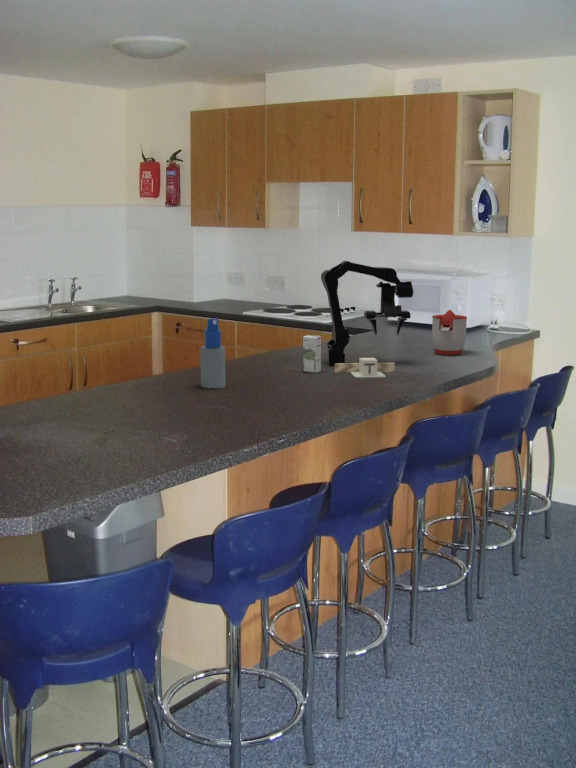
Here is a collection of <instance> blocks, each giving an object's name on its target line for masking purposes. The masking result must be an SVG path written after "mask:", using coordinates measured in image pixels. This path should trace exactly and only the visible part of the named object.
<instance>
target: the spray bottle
mask: <svg viewBox="0 0 576 768" xmlns="http://www.w3.org/2000/svg"><path fill="white" fill-rule="evenodd" d="M200 387H201V388H203V387H204V389H210V388H215V389H223V388H225V387H226V348H225V346H223V345H222V330H221V329H220V327H219V320H218V317H212V318H207V324H206V329H205V330H204V345H203V346H201V348H200Z"/></svg>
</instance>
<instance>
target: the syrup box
mask: <svg viewBox="0 0 576 768" xmlns="http://www.w3.org/2000/svg"><path fill="white" fill-rule="evenodd" d="M321 359H322V336H321V335H315V334H306V335H304V336H302V372H303V373H314V374H316V373H319V372H321V371H322V360H321Z"/></svg>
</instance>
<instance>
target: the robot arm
mask: <svg viewBox="0 0 576 768" xmlns="http://www.w3.org/2000/svg"><path fill="white" fill-rule="evenodd" d="M349 272H353V273H358V274H361V275H362V274H363V275H366V276H367V275H368V276H372V277H374V278H377V279H379V280H380V281H379V282H378V283H377V284H376V288H380V309H379V312H378V311H377V312H376V311H375V310H365V311H364V313H363V318H365V319H367V320H368V321H369V322H370V324H371V326H372V329H373V332H374V335H375V336H377V333H378V332H377V331H378V328H377V319H376V318H397V321H396V335H397V336H398V335H399V334H400V330H401V328H402V326H403V324H404V322H405V321H408V319H411V312H410V311H409V310H407V309H405V310H402V305H398V304H397V305H396V301H395V300H396V299H395V296H397V298H398V299H400V298H401V299H403V298H406V299H407V298H409V299H411V298H413V296H414V288H413V287H414V286H413V284H412V281H409V280H407V281H401V280H400V279H399V277H398V276H397V275H398V274H397V271H396V269H395V268H391V267H385V266H382V267H381V266H379V267H378V266H377V267H376V266H375V267H374V266H370V265H365V264H360V263H355V262H351V261H349V260H343V261H342V262H340V263H339V264H337V265H335V266H333V267H332V268H330V269H326V270H324V271H322V272H321V275H320V280H321V283H322V285H323V287H324V289H325V292H326V295H327V300H328V304H329V305H328V306H329V310H330V317H331V324H332V328H331V329H332V330H331V339H330V340H329V341H328V342H327V343H326V347H327V362H326V364H327V365H328V366H333V367H335V363H346V353H345V348H346V347H347V346H348V345H349V343H350V339H351V336H350V333H349V331H350V329H349V328H348V327H345V326H344V324H343V318H342V313H341V306H340V300H339V295H338V288H339V279H341V278H342V277H343V276H345V274H346V273H349ZM381 280H382V281H381ZM383 281H384V282H383ZM391 284H393V285H391Z"/></svg>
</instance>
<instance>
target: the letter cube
mask: <svg viewBox="0 0 576 768" xmlns="http://www.w3.org/2000/svg"><path fill="white" fill-rule="evenodd" d="M358 360H359V362H358V363H359V373H360V374H361V375H362V376H373V375H377V363H378V359H376V358H375V357H359V359H358Z"/></svg>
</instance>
